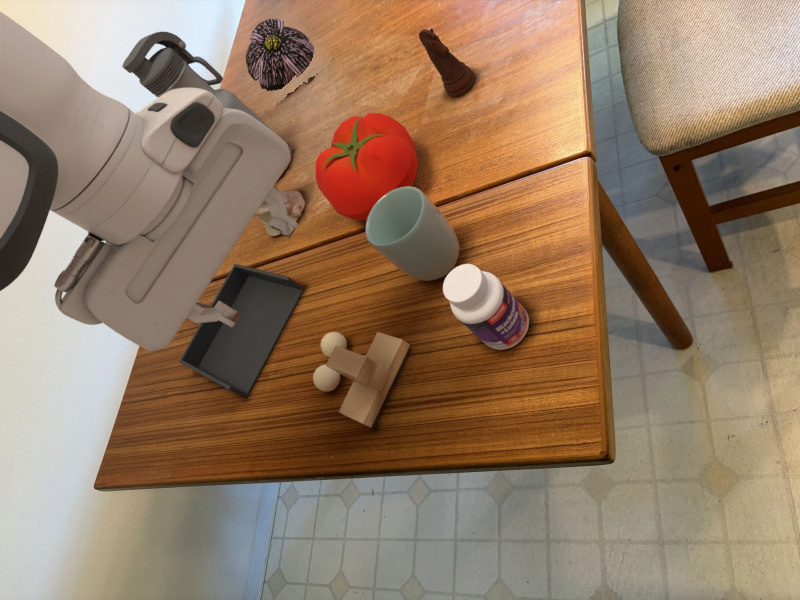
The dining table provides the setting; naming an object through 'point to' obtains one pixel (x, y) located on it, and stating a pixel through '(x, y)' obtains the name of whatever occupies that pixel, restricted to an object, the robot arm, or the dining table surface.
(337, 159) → the tomato
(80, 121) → the robot arm
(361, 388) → the brush
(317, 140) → the dining table surface
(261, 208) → the figurine
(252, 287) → the dustpan
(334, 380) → the crumb
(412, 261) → the cup
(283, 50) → the decorative flower
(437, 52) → the chess piece
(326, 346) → the crumb
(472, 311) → the pill bottle
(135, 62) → the water bottle
